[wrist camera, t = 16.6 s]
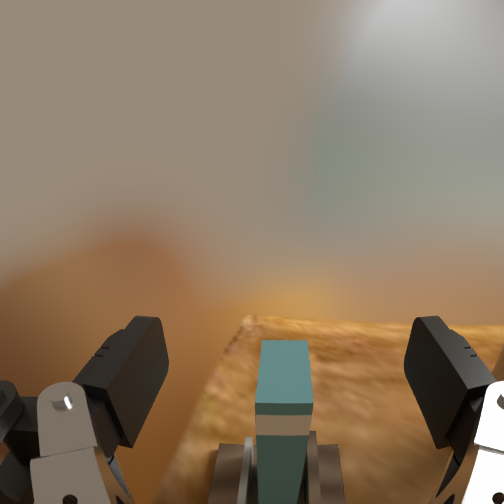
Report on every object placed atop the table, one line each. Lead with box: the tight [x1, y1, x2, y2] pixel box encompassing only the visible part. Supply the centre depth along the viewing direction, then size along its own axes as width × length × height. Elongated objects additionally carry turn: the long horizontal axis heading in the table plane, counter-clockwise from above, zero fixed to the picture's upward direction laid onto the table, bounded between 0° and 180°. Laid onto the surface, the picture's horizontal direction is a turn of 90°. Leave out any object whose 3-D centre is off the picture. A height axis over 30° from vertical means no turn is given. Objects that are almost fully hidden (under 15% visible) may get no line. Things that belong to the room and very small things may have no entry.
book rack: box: [207, 431, 345, 504], centre depth 29 cm, size 14×16×6 cm
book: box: [255, 340, 313, 504], centre depth 27 cm, size 8×4×20 cm, turn 175°
